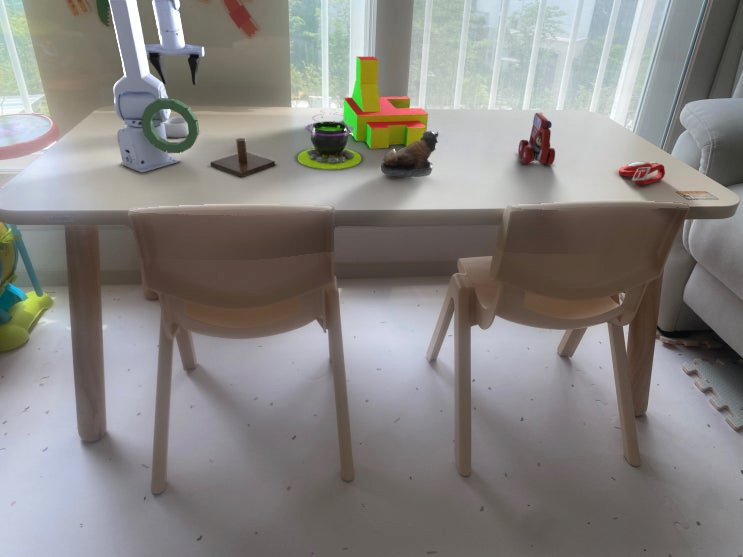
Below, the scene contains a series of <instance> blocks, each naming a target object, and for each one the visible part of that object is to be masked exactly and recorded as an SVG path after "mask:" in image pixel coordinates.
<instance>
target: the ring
mask: <svg viewBox="0 0 743 557" xmlns="http://www.w3.org/2000/svg"><path fill="white" fill-rule="evenodd" d="M161 109H170V111H171V110H172V111H173V112H175V113H177V114H179V115H181V117H183V118H184V119H185V121H186V122H187V125H188V132H189V133H188V135H187V137H185V138H184V139H182V140H180V141H179V142H178V141H168V140H167V141H166V140H165V139H163V138H161V137H160V136H159V135H158V134H157V132H156V131H155V130H154V126H153V121H152V119H153V117H154V115H155V113H156V112H158V111H159V110H161ZM197 118H198V117H197V116H196V115H195V113H194V112H193V110H192V108H191V107H190V106H188V105H187V104H186V103H184V102H182V101H181V100H178V99H177V98H175V99H174V98H173V97H168V98H160V99H157V100H155V101H154V102H152V103H150V104H149V105H148V106H147V107H146V108H145V110H144V113H143V115H142V117H141V119H142V120H141V124H142V129H143V133H145V134H144V135H145V136H146V138H147V139H148V140H149V142H150V143H151V144H152V145H153V144H154V147H156V148H158V149H160V150H162V151H164V152H166V151H167V153H169V154H180V153H181V154H182V153H184V152H186V151H187V150H189V149H191V148H192V147H193V146H194V144H195V142H196V140H197V139H198V136H199V134H200V133H199V132H200V128H199V120H198V119H197Z"/></svg>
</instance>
